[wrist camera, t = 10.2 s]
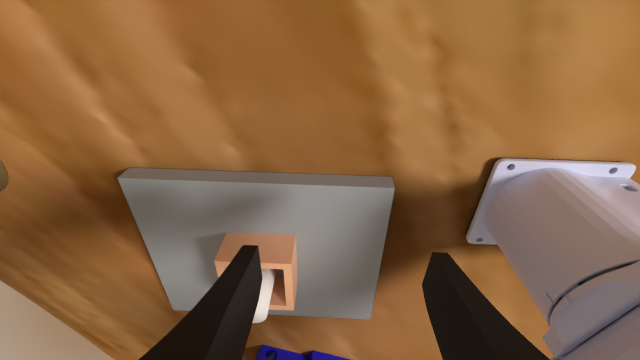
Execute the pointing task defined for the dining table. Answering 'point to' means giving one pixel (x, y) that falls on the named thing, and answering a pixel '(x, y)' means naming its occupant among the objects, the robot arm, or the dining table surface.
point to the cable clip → (292, 355)
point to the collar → (267, 262)
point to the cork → (3, 176)
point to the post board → (265, 232)
